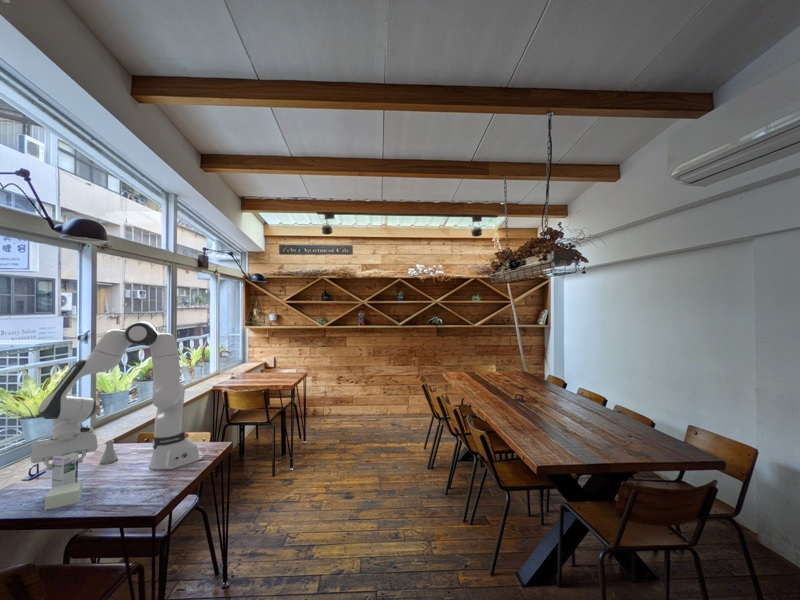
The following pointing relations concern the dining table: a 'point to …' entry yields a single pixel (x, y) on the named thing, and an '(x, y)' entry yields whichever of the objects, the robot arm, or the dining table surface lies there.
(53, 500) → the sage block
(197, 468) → the dining table surface
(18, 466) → the dining table surface
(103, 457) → the flask
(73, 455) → the syrup box
